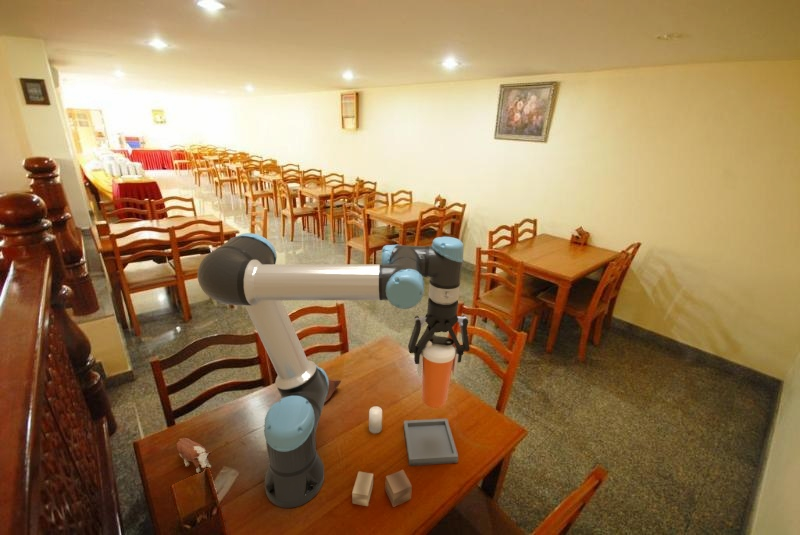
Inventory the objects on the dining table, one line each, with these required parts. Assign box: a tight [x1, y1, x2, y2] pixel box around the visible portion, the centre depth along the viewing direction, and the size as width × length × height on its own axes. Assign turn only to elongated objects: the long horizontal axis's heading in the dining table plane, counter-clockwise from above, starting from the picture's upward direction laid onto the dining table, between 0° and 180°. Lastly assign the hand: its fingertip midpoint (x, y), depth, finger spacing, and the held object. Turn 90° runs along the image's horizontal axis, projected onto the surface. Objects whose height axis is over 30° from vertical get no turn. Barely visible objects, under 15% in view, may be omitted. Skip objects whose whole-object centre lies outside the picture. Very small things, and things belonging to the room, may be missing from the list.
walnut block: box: [384, 469, 413, 508], centre depth 90 cm, size 5×5×5 cm
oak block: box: [351, 470, 374, 507], centre depth 91 cm, size 4×6×4 cm, turn 171°
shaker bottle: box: [421, 333, 456, 409], centre depth 96 cm, size 9×9×20 cm
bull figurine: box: [176, 437, 213, 474], centre depth 95 cm, size 4×13×8 cm, turn 58°
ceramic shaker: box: [368, 406, 383, 434], centre depth 110 cm, size 4×4×7 cm
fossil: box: [325, 377, 342, 402], centre depth 121 cm, size 13×8×10 cm
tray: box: [403, 418, 459, 467], centre depth 106 cm, size 14×14×2 cm
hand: (436, 371), depth 97 cm, fingers closed on shaker bottle, 9 cm apart
